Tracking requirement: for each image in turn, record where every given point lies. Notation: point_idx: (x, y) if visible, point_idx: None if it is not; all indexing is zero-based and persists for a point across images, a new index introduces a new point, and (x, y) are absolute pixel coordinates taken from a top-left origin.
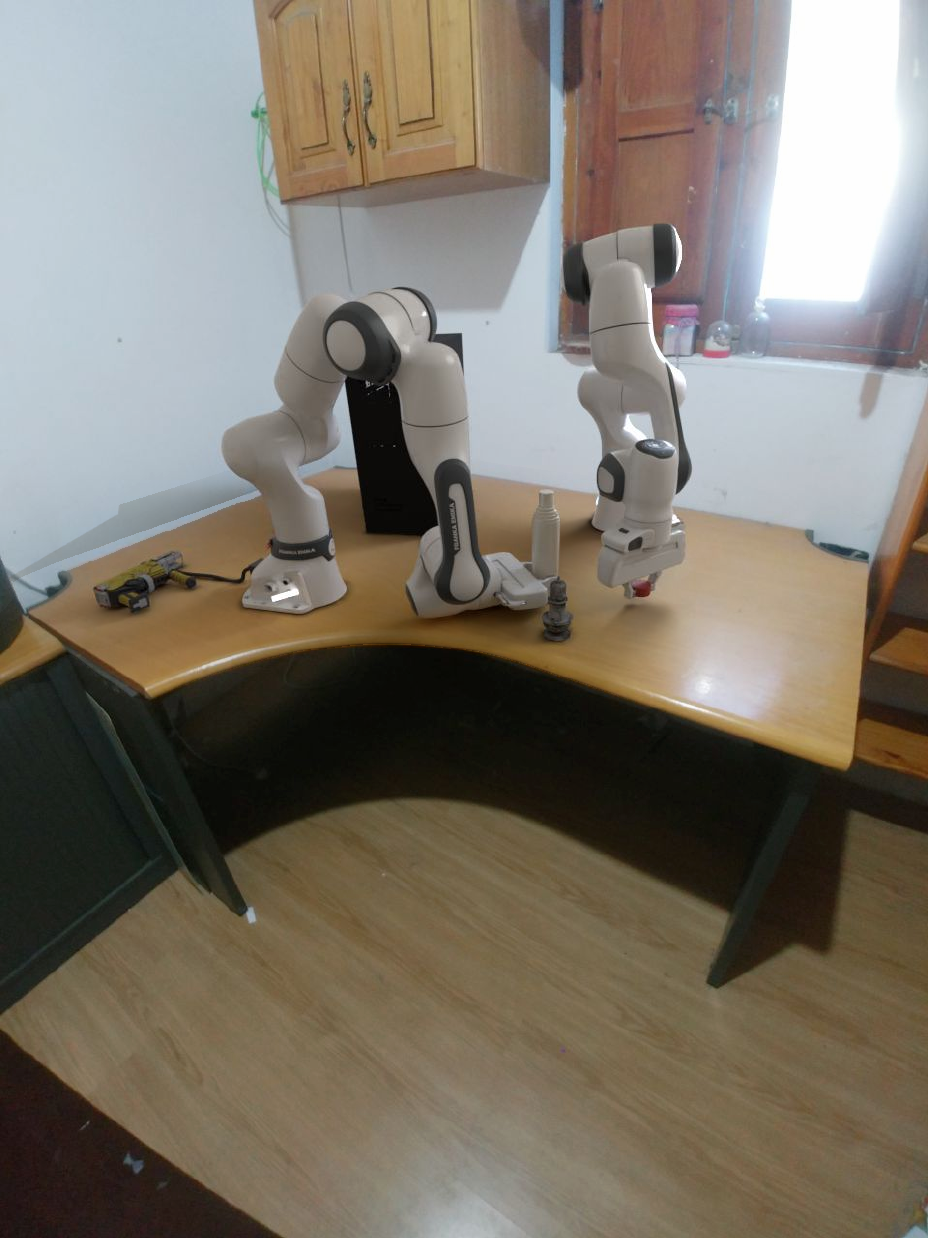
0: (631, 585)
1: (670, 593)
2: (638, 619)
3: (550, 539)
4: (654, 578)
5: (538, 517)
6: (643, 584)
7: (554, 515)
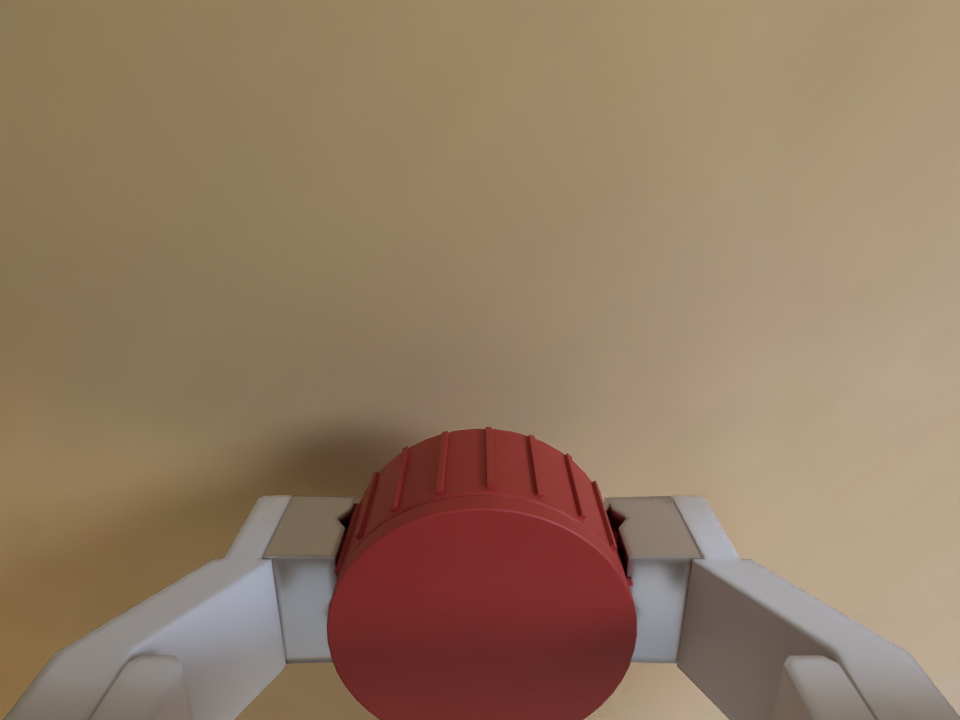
0: (331, 599)
1: (904, 492)
2: None
3: None
4: (739, 699)
5: None
6: (500, 670)
7: None
